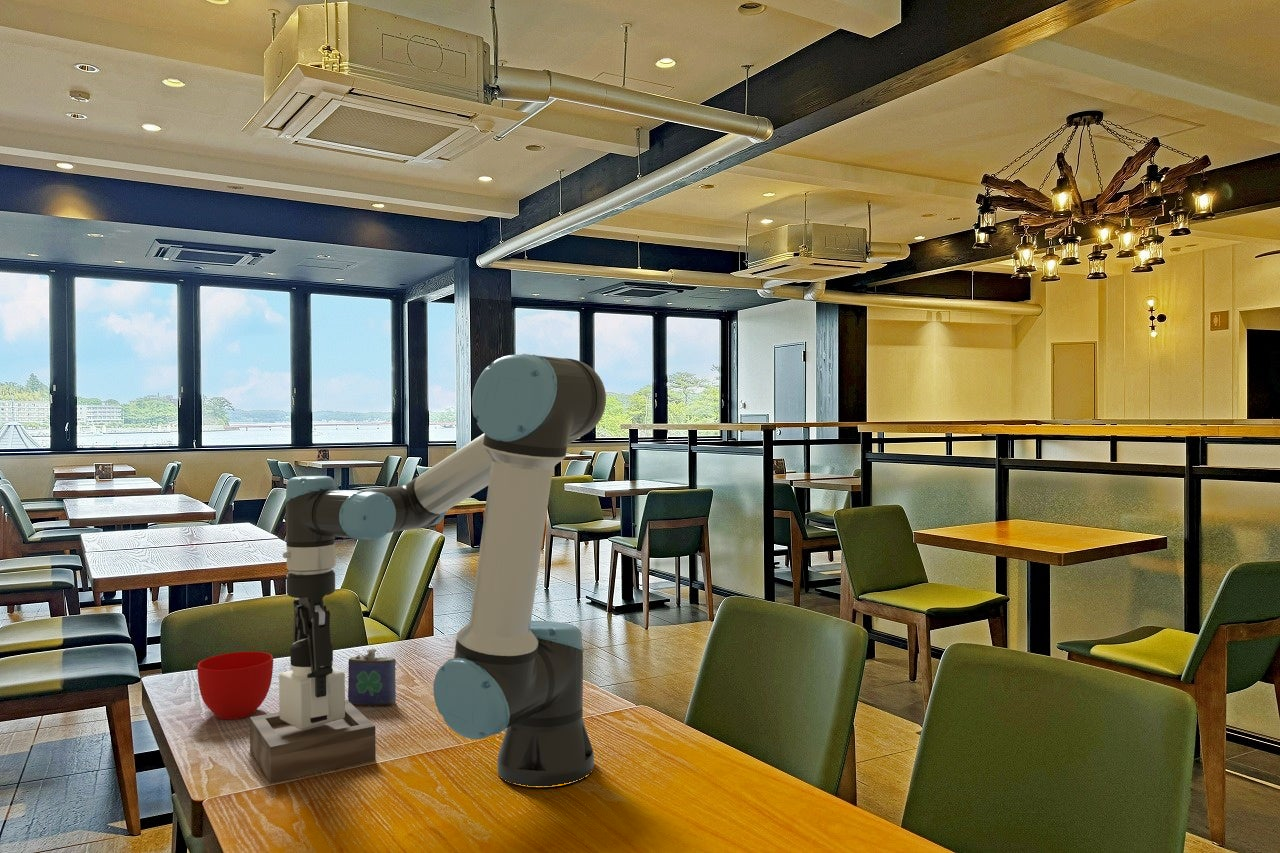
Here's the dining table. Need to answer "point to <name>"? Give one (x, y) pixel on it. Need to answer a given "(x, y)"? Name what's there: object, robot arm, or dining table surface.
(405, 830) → the dining table surface
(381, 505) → the robot arm
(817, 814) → the dining table surface
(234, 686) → the ceramic cup
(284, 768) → the thick-rimmed brown tray
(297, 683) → the container
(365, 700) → the flask
